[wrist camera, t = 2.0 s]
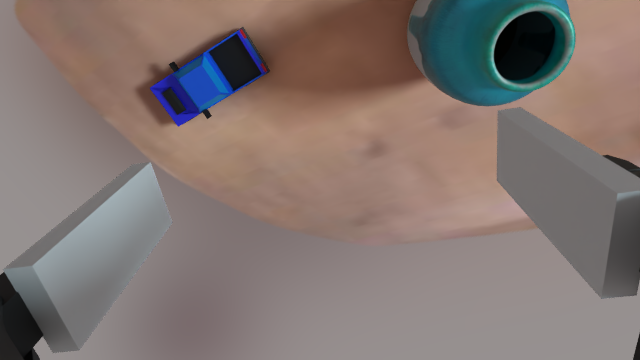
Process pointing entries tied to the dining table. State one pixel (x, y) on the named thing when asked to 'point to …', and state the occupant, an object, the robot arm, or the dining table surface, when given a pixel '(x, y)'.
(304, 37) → the dining table surface
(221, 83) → the toy car
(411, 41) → the vase
